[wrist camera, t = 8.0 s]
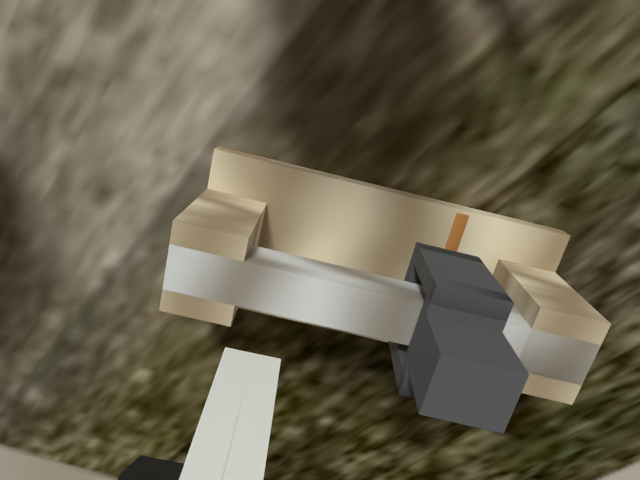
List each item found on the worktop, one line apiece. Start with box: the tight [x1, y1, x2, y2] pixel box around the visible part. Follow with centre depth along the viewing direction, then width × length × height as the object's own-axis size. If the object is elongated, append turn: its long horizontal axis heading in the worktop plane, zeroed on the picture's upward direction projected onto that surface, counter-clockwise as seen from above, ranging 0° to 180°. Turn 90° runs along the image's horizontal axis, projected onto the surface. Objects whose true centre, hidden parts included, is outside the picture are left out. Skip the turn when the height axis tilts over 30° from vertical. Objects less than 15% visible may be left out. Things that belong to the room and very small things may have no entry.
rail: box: [159, 146, 611, 404], centre depth 24 cm, size 18×8×7 cm, turn 76°
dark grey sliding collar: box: [388, 242, 529, 433], centre depth 20 cm, size 3×5×8 cm, turn 167°
